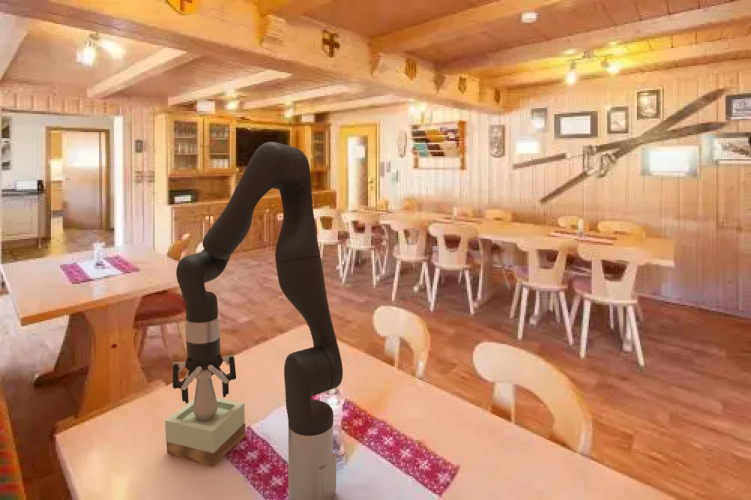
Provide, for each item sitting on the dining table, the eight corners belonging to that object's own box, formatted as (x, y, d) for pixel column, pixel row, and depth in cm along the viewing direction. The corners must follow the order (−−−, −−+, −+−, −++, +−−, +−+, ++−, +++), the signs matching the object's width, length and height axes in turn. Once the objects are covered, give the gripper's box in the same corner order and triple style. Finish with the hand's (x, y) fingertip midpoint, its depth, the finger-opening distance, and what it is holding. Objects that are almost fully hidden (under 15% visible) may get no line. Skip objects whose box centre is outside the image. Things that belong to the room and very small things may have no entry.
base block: (245, 438, 119) (245, 423, 118) (210, 468, 107) (210, 453, 106) (205, 425, 123) (204, 412, 123) (167, 454, 112) (166, 439, 111)
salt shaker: (209, 425, 110) (207, 374, 107) (188, 421, 111) (185, 371, 109) (222, 412, 116) (220, 363, 113) (202, 409, 117) (199, 361, 114)
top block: (244, 422, 119) (244, 403, 117) (213, 453, 106) (212, 431, 105) (201, 413, 122) (200, 394, 121) (166, 441, 110) (164, 420, 109)
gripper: (232, 326, 116) (234, 386, 119) (170, 333, 110) (173, 396, 113) (236, 338, 109) (238, 401, 112) (169, 346, 103) (173, 412, 107)
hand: (205, 398), depth 113 cm, fingers open, 8 cm apart
